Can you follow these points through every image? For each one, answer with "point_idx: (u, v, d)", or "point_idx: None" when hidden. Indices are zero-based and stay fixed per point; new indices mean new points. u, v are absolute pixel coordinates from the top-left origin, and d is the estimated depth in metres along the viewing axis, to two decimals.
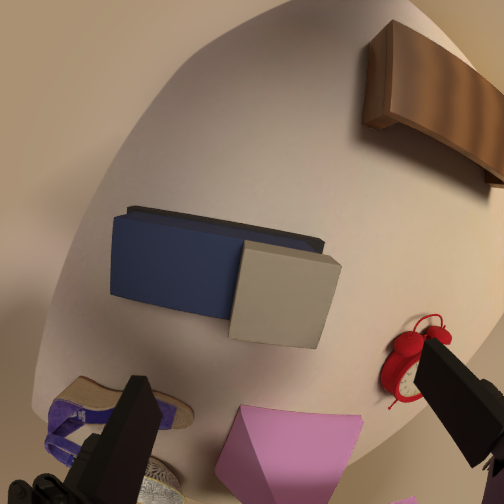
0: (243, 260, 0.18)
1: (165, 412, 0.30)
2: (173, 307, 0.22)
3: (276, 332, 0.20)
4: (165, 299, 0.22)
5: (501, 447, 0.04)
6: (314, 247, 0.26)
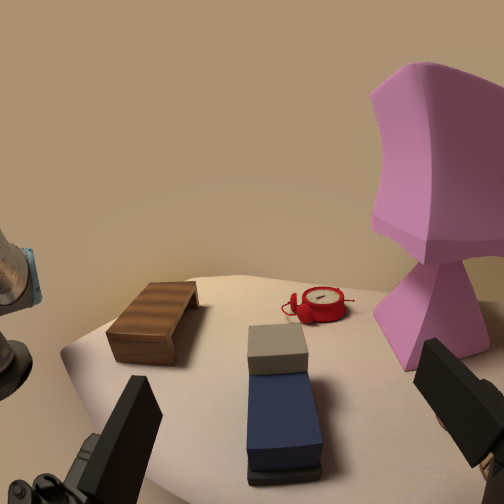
0: (254, 355, 0.30)
1: None
2: (312, 399, 0.25)
3: (295, 337, 0.33)
4: (307, 405, 0.25)
5: (501, 447, 0.04)
6: None
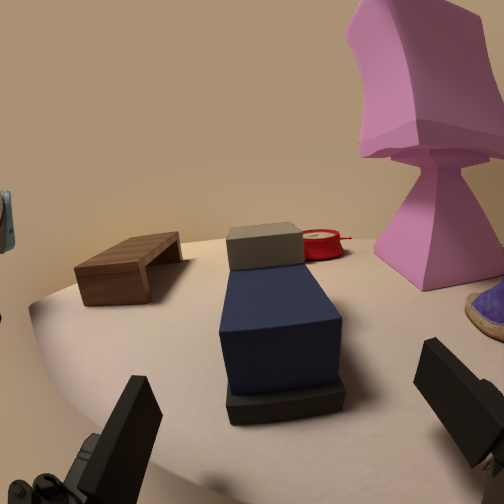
0: (235, 238, 0.25)
1: (481, 297, 0.20)
2: (314, 281, 0.21)
3: (285, 227, 0.28)
4: (309, 285, 0.20)
5: (501, 447, 0.04)
6: None
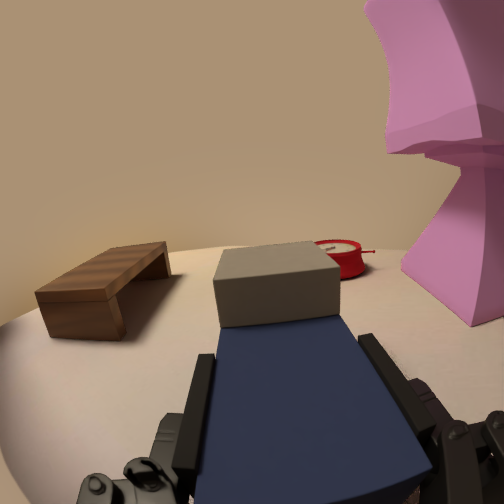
0: (227, 277, 0.15)
1: None
2: (367, 363, 0.10)
3: (308, 252, 0.18)
4: (360, 376, 0.10)
5: None
6: None
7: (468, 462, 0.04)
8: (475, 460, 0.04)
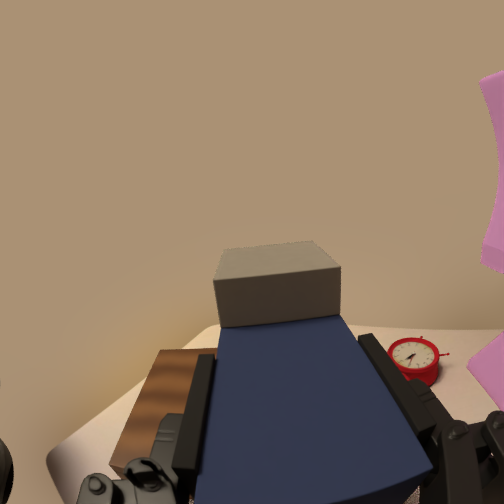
0: (228, 277, 0.15)
1: None
2: (367, 363, 0.10)
3: (308, 252, 0.18)
4: (361, 376, 0.10)
5: None
6: None
7: (468, 462, 0.04)
8: (475, 460, 0.04)
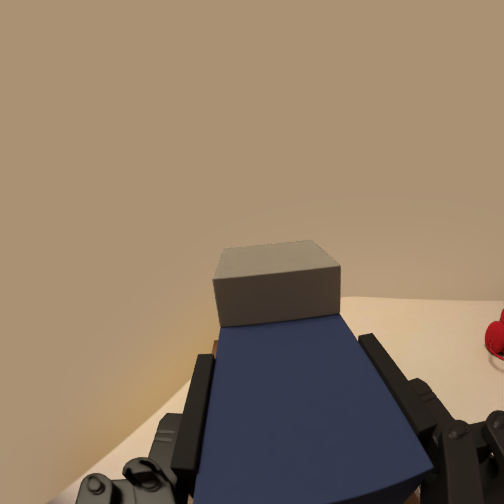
0: (227, 276, 0.15)
1: None
2: (367, 362, 0.10)
3: (308, 251, 0.18)
4: (361, 375, 0.10)
5: None
6: None
7: (469, 462, 0.04)
8: (476, 460, 0.04)
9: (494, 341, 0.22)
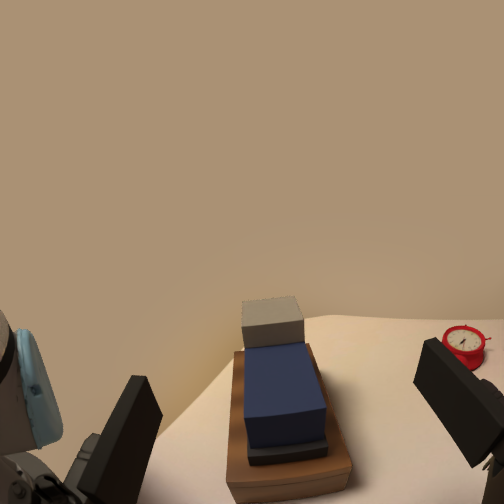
0: (248, 325, 0.30)
1: None
2: (311, 366, 0.25)
3: (290, 307, 0.33)
4: (306, 371, 0.25)
5: (501, 447, 0.04)
6: None
7: None
8: None
9: None
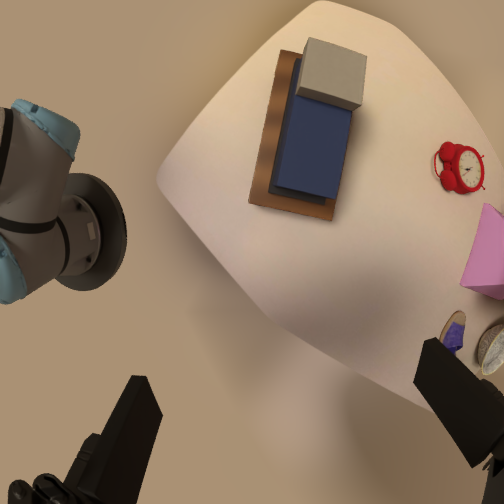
0: (307, 87, 0.24)
1: (454, 329, 0.47)
2: (344, 148, 0.28)
3: (356, 76, 0.23)
4: (338, 153, 0.29)
5: (501, 447, 0.04)
6: None
7: None
8: None
9: (443, 152, 0.39)
